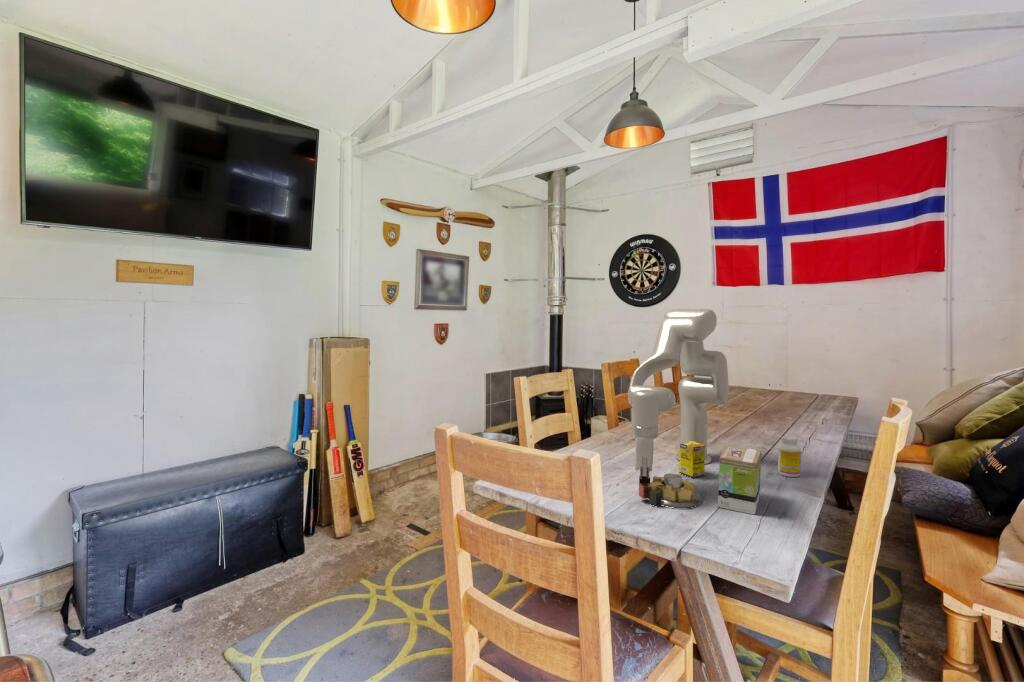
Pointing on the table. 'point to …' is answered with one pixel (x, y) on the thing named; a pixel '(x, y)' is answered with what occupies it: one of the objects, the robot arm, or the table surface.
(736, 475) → the tea box
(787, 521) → the table surface
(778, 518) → the table surface
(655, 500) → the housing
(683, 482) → the tan block cluster
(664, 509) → the table surface
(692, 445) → the supplement box
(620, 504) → the table surface
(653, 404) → the robot arm
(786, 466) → the supplement bottle
